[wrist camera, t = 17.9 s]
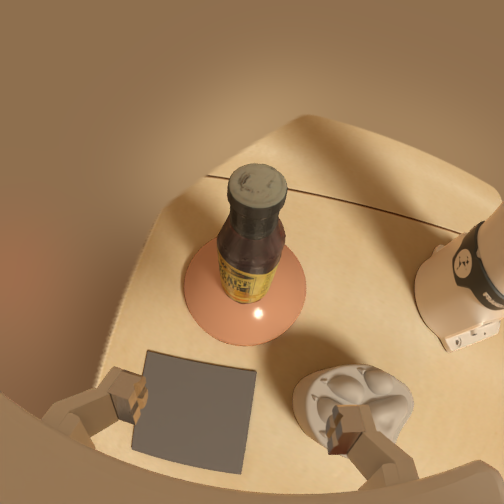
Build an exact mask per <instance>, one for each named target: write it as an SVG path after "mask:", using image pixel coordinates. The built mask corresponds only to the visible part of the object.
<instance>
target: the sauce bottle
mask: <svg viewBox="0 0 504 504" xmlns="http://www.w3.org/2000/svg"><path fill="white" fill-rule="evenodd" d="M287 189H288V188H287V183H286V180H285V178H284V176H283V175H282V174H281V173H280V172H278V171H277V170H276V169H275V168H273V167H271V166H268V165H265V164H247V165H244V166H242V167H239V168H238V169H237V170H236V171H234V172H233V174H232V175H231V177H230V179H229V182H228V190H227V191H228V192H227V197H228V201H229V203H230V214H229V216H228V218H227V220H226V222H225V223H224V225H223V227H222V229H221V231H220V232H219V234H218V236H217V252H218V262H219V271H220V278H221V284H222V287H223V289H224V291H225V293H226V295H227V296H228V297H229V298H231V299H232V300H233V301H235V302H238V303H240V304H251V303H255V302H257V301H259V300H261V299H262V297H264V296H265V295H266V293H267V292H268V290H269V288H270V285H271V283H272V280H273V278H274V275H275V272H276V270H277V267H278V264H279V261H280V259H281V255H282V250H283V248H284V244H285V237H286V235H285V231H284V227H283V225H282V222H281V221H280V219H279V217H278V215H279V211H280V209H281V208H282V207H283V205H284V203H285V199H286V194H287Z"/></svg>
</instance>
